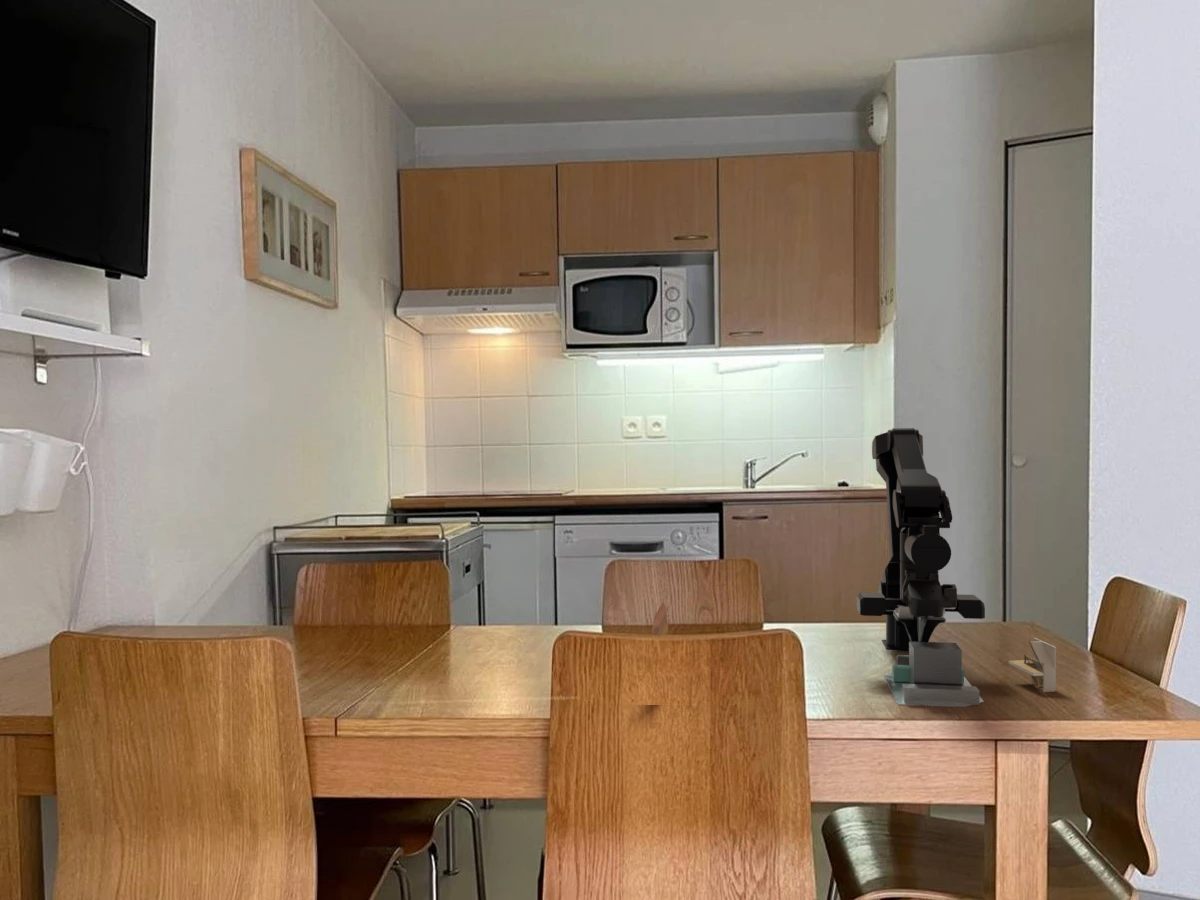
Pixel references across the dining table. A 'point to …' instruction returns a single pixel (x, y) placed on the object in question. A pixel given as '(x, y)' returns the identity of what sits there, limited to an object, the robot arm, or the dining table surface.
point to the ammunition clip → (660, 621)
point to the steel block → (935, 663)
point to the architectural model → (1040, 665)
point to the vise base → (933, 694)
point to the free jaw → (905, 669)
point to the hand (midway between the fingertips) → (918, 658)
